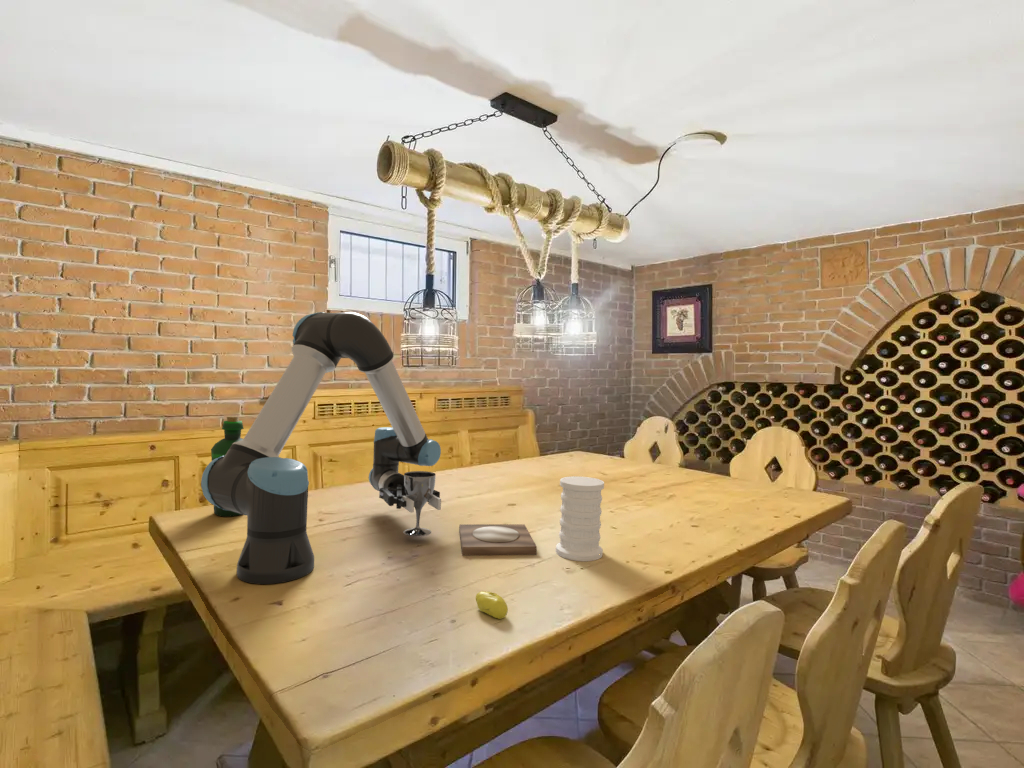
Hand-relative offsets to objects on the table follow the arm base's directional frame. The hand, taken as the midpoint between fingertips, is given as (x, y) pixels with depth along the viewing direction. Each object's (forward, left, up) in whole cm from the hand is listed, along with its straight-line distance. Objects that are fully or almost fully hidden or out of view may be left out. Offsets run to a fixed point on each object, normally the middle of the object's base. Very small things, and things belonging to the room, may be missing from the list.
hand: (426, 505), depth 133 cm
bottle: (+30, +56, -10) cm, 64 cm away
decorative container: (-5, -38, -10) cm, 40 cm away
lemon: (-36, -13, -11) cm, 40 cm away
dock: (+3, -18, -10) cm, 21 cm away
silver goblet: (+5, +2, -8) cm, 10 cm away
